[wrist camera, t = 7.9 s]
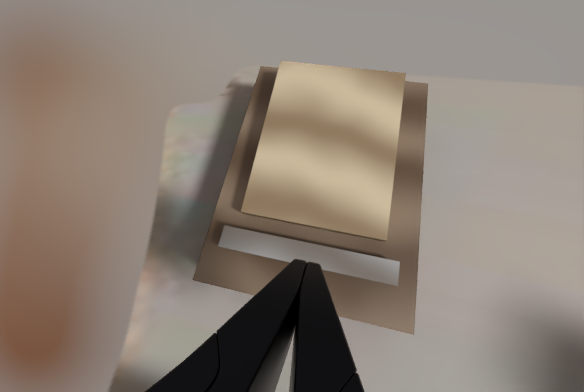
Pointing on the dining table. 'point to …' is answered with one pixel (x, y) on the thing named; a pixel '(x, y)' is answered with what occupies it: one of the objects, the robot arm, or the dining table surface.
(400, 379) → the dining table surface
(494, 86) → the dining table surface
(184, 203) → the dining table surface
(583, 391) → the dining table surface
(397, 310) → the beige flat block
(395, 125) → the oak plank
